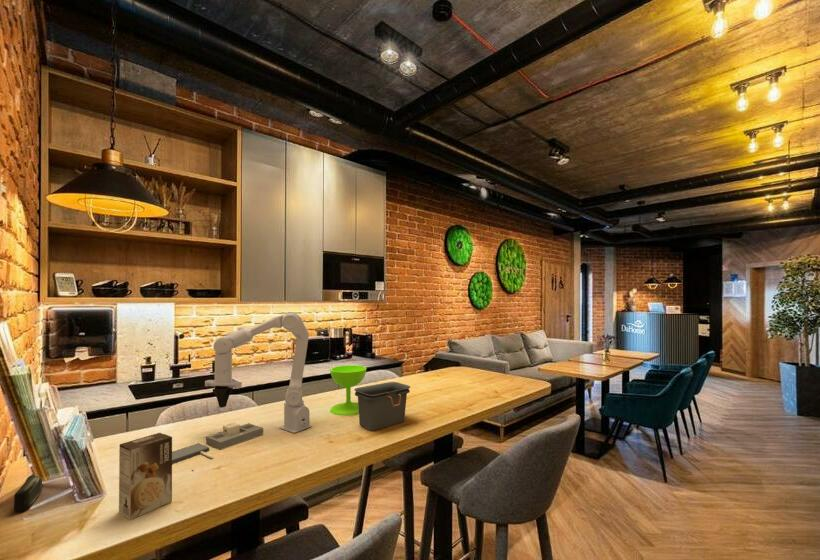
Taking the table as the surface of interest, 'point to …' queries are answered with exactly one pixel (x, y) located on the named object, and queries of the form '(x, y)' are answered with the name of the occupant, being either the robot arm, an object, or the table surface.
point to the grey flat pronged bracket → (190, 452)
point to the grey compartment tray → (234, 436)
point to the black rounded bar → (27, 493)
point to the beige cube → (231, 429)
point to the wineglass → (347, 387)
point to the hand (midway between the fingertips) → (222, 406)
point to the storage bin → (382, 404)
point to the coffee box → (145, 474)
